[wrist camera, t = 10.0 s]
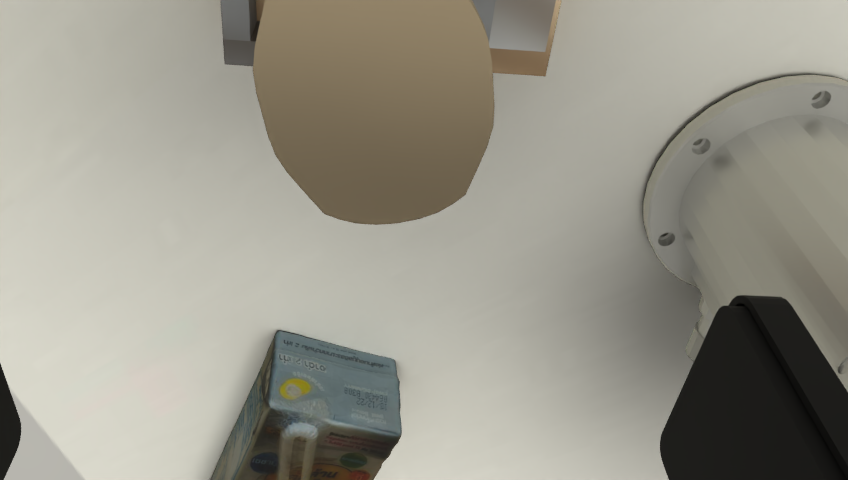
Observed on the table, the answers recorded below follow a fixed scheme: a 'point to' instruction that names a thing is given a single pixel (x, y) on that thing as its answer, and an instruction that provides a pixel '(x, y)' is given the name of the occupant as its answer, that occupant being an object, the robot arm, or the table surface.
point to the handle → (376, 102)
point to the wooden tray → (497, 7)
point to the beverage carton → (315, 415)
